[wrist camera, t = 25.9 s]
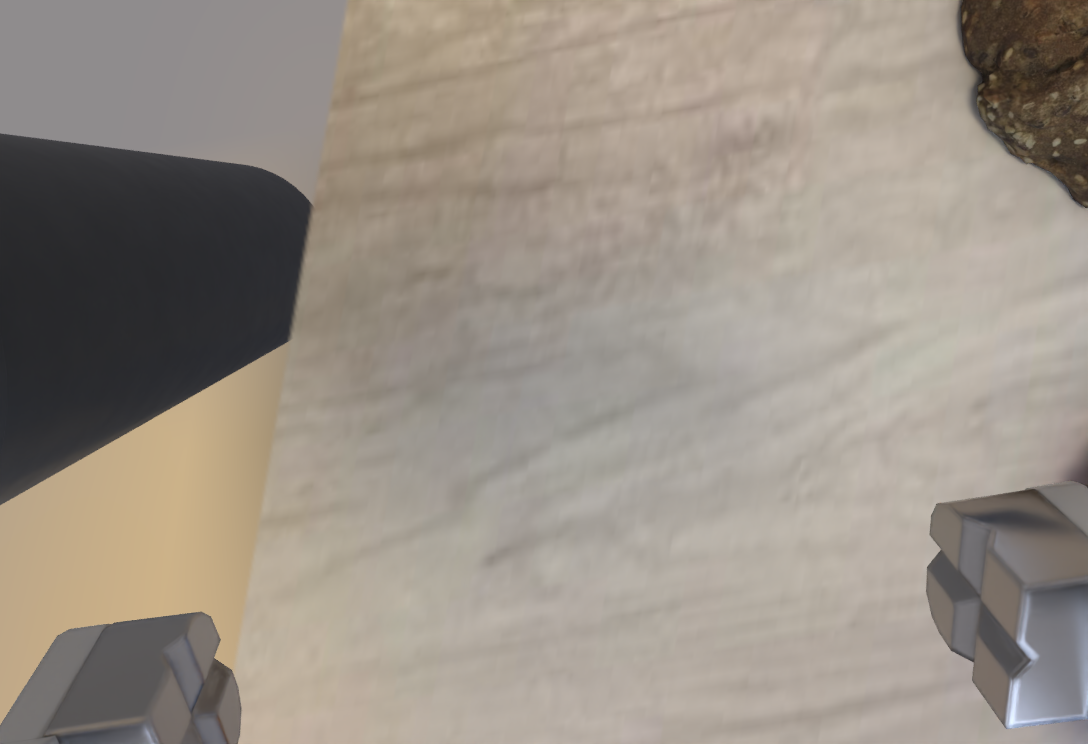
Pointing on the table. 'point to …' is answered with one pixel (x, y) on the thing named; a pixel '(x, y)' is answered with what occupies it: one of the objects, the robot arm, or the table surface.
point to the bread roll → (1034, 81)
